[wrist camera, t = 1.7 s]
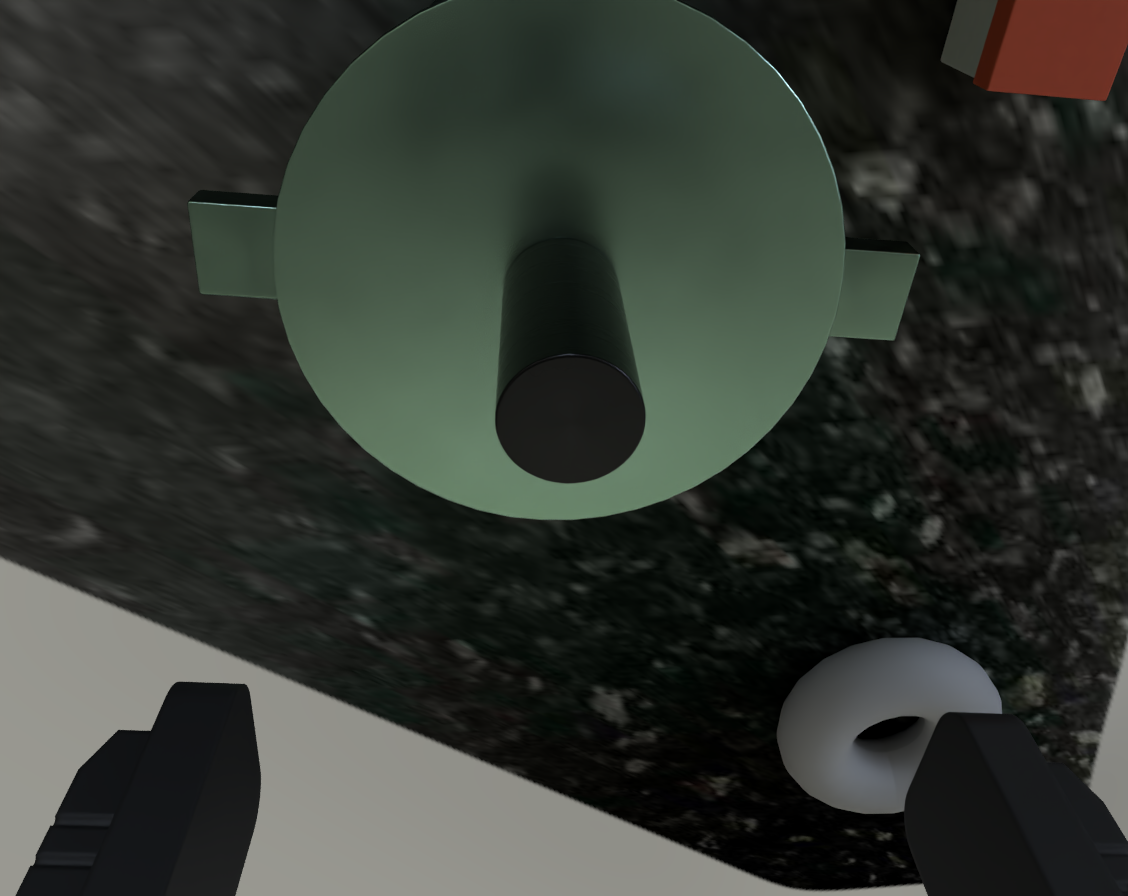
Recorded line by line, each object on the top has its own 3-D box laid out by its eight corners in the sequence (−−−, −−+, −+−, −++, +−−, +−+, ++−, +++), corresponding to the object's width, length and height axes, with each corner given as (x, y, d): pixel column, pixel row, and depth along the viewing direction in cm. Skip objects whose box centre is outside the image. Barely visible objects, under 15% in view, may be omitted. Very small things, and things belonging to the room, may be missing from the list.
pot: (249, -66, 26) (140, -38, 18) (876, -7, 27) (1002, 39, 20) (284, 342, 32) (214, 478, 25) (784, 373, 34) (854, 512, 26)
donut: (954, 588, 40) (738, 669, 42) (990, 644, 37) (755, 729, 39) (1002, 727, 45) (807, 793, 47) (1036, 787, 42) (826, 855, 44)
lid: (258, -58, 19) (131, -21, 13) (900, 1, 20) (1060, 62, 14) (301, 485, 26) (233, 670, 20) (771, 510, 27) (839, 693, 21)
